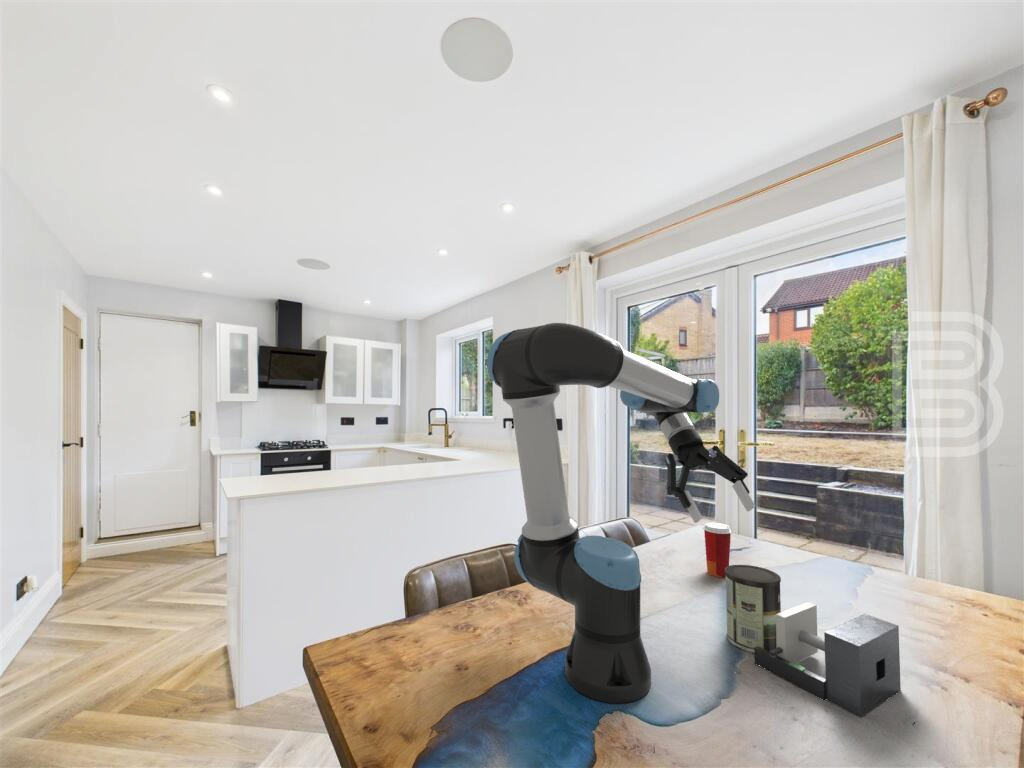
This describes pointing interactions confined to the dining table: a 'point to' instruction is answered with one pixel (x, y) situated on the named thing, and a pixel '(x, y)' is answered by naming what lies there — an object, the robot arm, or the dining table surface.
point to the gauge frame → (848, 665)
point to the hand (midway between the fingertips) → (725, 514)
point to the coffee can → (752, 606)
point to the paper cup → (717, 548)
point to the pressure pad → (797, 633)
